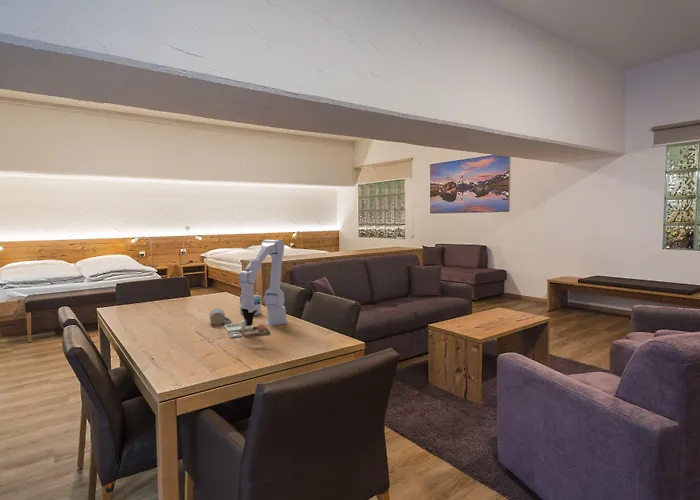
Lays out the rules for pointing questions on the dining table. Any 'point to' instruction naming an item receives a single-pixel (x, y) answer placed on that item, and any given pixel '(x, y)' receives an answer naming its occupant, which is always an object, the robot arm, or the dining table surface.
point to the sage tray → (236, 328)
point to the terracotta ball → (261, 327)
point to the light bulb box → (256, 302)
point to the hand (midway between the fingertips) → (248, 324)
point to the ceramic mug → (218, 317)
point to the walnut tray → (254, 332)
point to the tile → (235, 335)
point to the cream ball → (242, 324)
